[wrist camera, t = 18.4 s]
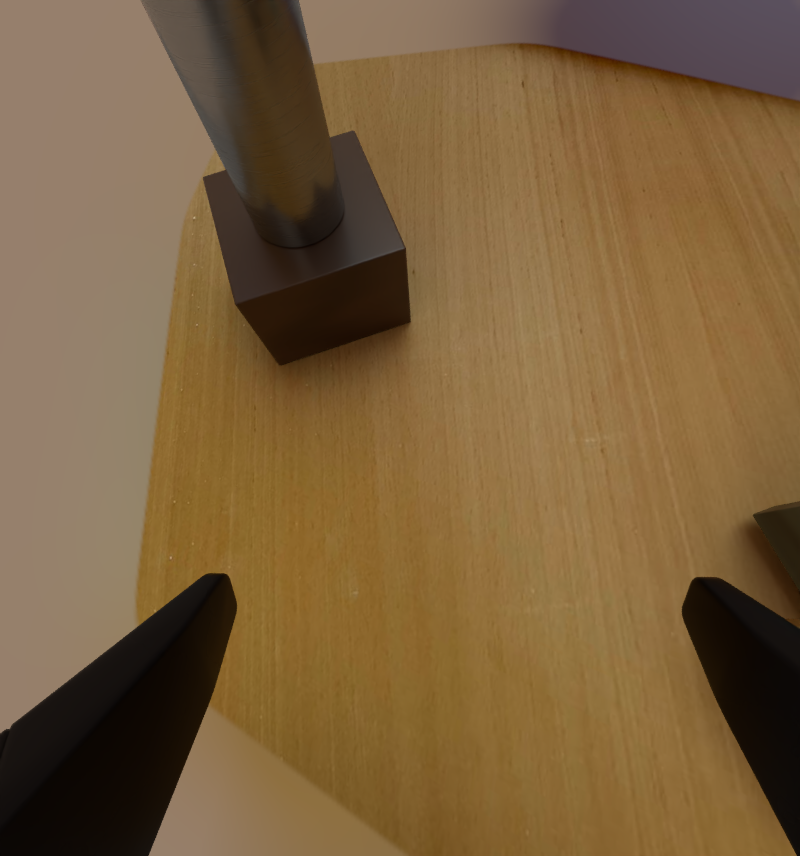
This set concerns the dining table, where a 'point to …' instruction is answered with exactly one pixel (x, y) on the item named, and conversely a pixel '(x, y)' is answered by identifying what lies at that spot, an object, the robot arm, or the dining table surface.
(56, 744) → the robot arm
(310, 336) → the riser
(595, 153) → the dining table surface
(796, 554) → the drawer
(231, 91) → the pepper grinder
